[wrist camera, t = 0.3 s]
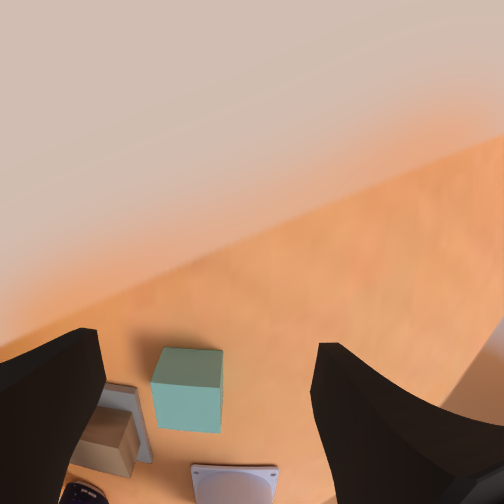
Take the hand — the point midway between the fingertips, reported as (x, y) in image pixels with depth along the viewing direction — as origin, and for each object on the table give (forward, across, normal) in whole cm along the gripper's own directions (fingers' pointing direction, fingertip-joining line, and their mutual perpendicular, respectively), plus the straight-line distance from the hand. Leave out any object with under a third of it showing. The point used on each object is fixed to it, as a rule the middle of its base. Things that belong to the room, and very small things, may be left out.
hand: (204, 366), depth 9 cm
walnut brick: (+9, +11, +14) cm, 20 cm away
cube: (+10, +2, +8) cm, 13 cm away
